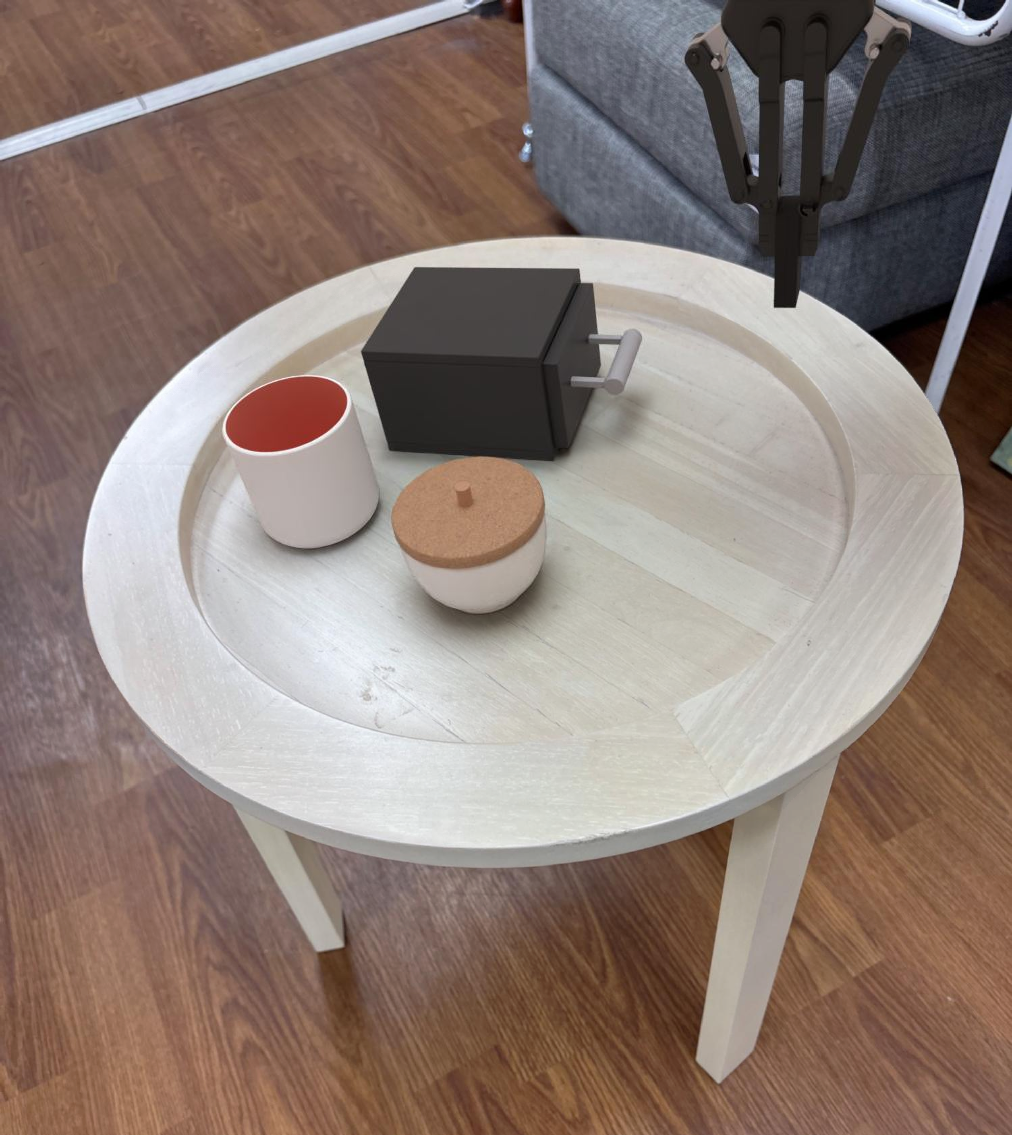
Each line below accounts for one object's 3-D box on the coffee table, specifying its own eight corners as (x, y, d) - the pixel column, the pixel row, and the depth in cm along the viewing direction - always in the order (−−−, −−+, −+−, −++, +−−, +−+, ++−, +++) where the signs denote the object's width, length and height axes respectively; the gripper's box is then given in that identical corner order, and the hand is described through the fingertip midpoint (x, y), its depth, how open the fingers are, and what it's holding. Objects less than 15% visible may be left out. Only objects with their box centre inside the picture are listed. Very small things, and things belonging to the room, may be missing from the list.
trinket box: (586, 572, 78) (573, 471, 71) (484, 660, 74) (459, 562, 67) (485, 517, 84) (464, 418, 77) (385, 595, 80) (353, 499, 73)
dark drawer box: (590, 370, 95) (579, 267, 88) (553, 461, 87) (538, 357, 80) (436, 364, 99) (414, 266, 92) (389, 450, 92) (360, 351, 85)
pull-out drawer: (650, 367, 92) (645, 283, 86) (621, 451, 85) (613, 366, 80) (457, 360, 98) (439, 280, 92) (414, 438, 91) (393, 358, 85)
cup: (377, 548, 84) (343, 445, 76) (255, 562, 85) (210, 462, 77) (387, 468, 90) (357, 366, 83) (274, 482, 91) (234, 382, 84)
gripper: (935, -147, 57) (889, 269, 74) (691, -118, 61) (702, 270, 78) (928, -105, 52) (882, 327, 70) (665, -76, 56) (683, 325, 74)
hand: (787, 297), depth 74 cm, fingers closed
